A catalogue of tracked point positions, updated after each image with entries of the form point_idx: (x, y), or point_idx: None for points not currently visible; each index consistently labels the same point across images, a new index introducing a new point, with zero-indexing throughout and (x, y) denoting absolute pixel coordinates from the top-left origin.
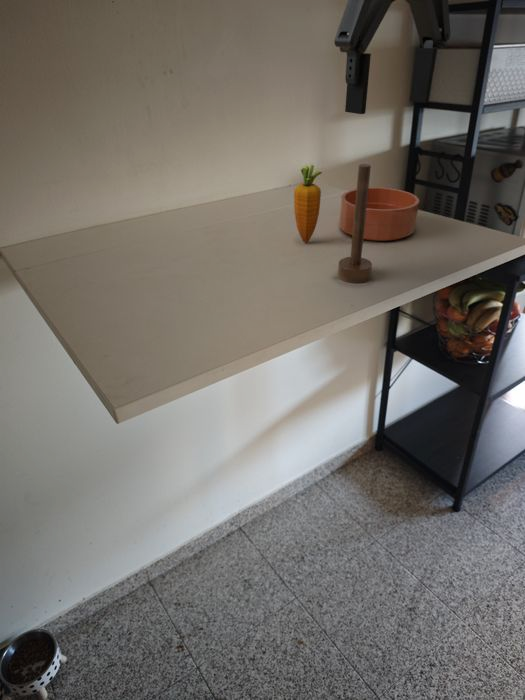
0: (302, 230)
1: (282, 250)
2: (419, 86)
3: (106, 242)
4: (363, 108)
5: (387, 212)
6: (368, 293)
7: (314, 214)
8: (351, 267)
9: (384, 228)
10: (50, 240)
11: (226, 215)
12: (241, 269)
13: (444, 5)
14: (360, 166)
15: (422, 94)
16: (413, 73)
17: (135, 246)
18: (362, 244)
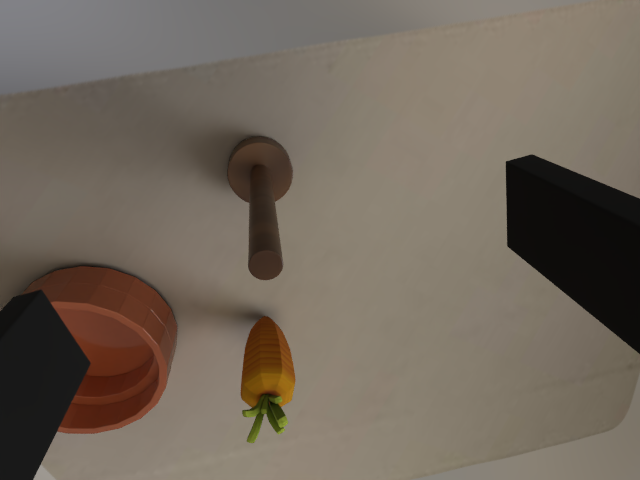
0: (278, 328)
1: (317, 305)
2: (34, 379)
3: (519, 409)
4: (536, 162)
5: (101, 304)
6: (275, 93)
7: (262, 339)
8: (278, 161)
9: (114, 285)
10: (570, 433)
11: (326, 450)
12: (412, 267)
13: None
14: (282, 262)
15: (37, 332)
16: (33, 473)
17: (496, 387)
18: (253, 179)
